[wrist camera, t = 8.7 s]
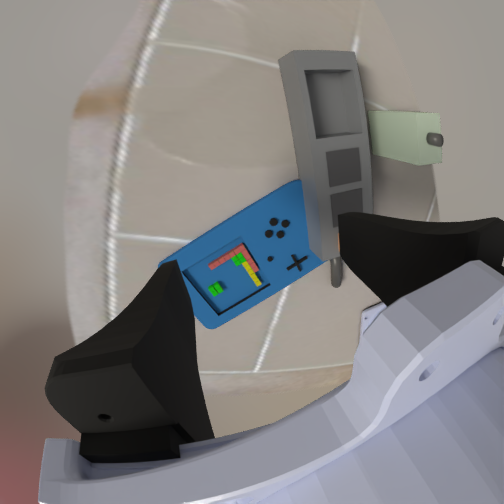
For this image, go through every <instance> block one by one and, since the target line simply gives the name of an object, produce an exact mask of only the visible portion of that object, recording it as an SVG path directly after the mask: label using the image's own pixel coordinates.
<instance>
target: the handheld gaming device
mask: <svg viewBox="0 0 504 504" xmlns="http://www.w3.org/2000/svg"><path fill="white" fill-rule="evenodd" d="M176 259H177V262H178V265H179V268H180V271H181V273H182V276H183V279H184V282H185V284H186V287H187V290H188V293H189V295H190V298H191V302H192V307H193V312H194V315H195V316H196V318H197V319H198V320H199V321H200V322H201V323H202V324H203V325H204V326H205V327H206V328H208V329H215V328H217V327H219V326H221V325H222V324H224V323H226V322H228V321H229V320H231V319H233V318H235V317H236V316H238V315H240V314H241V313H243V312H245V311H247V310H248V309H250V308H252V307H253V306H255V305H257V304H258V303H260V302H262V301H263V300H265V299H267V298H268V297H270V296H272V295H273V294H275V293H276V292H278V291H280V290H281V289H283V288H285V287H286V286H288V285H289V284H291V283H293V282H294V281H296V280H297V279H299V278H301V277H302V276H304V275H305V274H307V273H309V272H310V271H312V270H313V269H315V268H316V267H318V266H319V265H321V264H323V263H324V262H326V261H322V260H321V259H320V258H319V257H318V256H317V255H316V254H314V253H313V252H312V251H311V250H310V248H309V239H308V229H307V220H306V212H305V204H304V196H303V188H302V181H301V180H294V181H291V182H289V183H287V184H285V185H283V186H281V187H280V188H278V189H276V190H275V191H273V192H271V193H269V194H268V195H266V196H264V197H263V198H261V199H259V200H258V201H256V202H254V203H253V204H251V205H249V206H248V207H246V208H244V209H243V210H241V211H240V212H238V213H236V214H235V215H233V216H231V217H230V218H228V219H227V220H225V221H223V222H222V223H220V224H219V225H217V226H215V227H214V228H212V229H211V230H209V231H207V232H206V233H204V234H203V235H201V236H200V237H198V238H196V239H195V240H193V241H192V242H190V243H189V244H187V245H185V246H184V247H182V248H181V249H179V250H178V251H176V252H175V253H173V254H172V255H170V256H169V257H167V258H166V259H164V260H163V261H161V262H160V263H159V265H158V268H159V267H160V265H161V264H162V263H165V262H169V261H172V260H176Z"/></svg>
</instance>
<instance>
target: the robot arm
mask: <svg viewBox="0 0 504 504" xmlns="http://www.w3.org/2000/svg"><path fill="white" fill-rule="evenodd" d="M338 229H339V249H340V256H341V257H342V259H343V260H344V262H345V263H346V264H347V266H348V267H349V268H350V269H351V270H352V272H353V273H354V274H355V275H356V276H357V277H358V278H359V279H360V280H362V281H363V282H364V283H365V284H366V285H367V286H368V287H369V288H370V289H371V290H372V291H373V292H374V293H375V294H376V295H377V296H378V297H379V298H380V299H381V300H382V303H380V304H377V305H375V306H373V307H371V308H368V309H366V310H364V311H363V312H362V319H361V330H360V340H359V345H358V348H357V350H356V353H355V356H354V363H353V371H352V376H351V378H350V379H349V380H348V381H346V382H344V383H343V384H341V385H340V386H338V387H337V388H335V389H333V390H332V391H330V392H329V393H327V394H325V395H324V396H322V397H320V398H319V399H317V400H315V401H313V402H312V403H310V404H308V405H306V406H305V407H303V408H301V409H299V410H298V411H295V412H294V413H292V414H290V415H288V416H286V417H284V418H282V419H280V420H278V421H276V422H274V423H272V424H268V425H265V426H262V427H258V428H254V429H251V430H247V431H243V432H240V433H236V434H232V435H227V436H223V437H219V438H215V437H214V433H213V430H212V427H211V423H210V419H209V415H208V412H207V408H206V404H205V399H204V395H203V391H202V386H201V381H200V376H199V371H198V365H197V353H196V335H195V318H194V312H193V307H192V302H191V298H190V295H189V293H188V290H187V287H186V284H185V282H184V279H183V276H182V273H181V271H180V268H179V265H178V262H177V259H176V260H172V261H169V262H165V263H162V264H161V265H160V267H159V268H158V269H157V271H156V272H155V273H154V275H153V276H152V277H151V279H150V280H149V281H148V283H147V284H146V285H145V287H144V288H143V289H142V290H141V291H140V292H139V294H138V295H137V296H136V297H135V299H134V300H133V301H132V302H131V303H130V304H129V305H128V306H127V307H126V308H125V309H124V310H123V311H122V312H121V313H120V314H119V315H118V316H117V317H116V318H114V319H113V320H112V321H111V322H110V323H108V324H107V325H106V326H105V327H103V328H102V329H101V330H100V331H98V332H97V333H95V334H94V335H93V336H91V337H90V338H88V339H87V340H85V341H83V342H82V343H80V344H78V345H77V346H75V347H73V348H71V349H69V350H67V351H66V352H64V353H62V354H60V355H58V356H56V357H55V358H54V361H53V364H52V367H51V370H50V373H49V376H48V379H47V382H46V386H45V394H46V396H47V399H48V400H49V402H50V404H51V405H52V406H53V408H54V409H55V410H56V411H57V412H58V413H59V414H60V415H61V416H62V417H63V418H64V419H65V420H67V421H68V422H69V423H70V424H71V425H72V426H73V427H74V428H76V429H77V430H78V431H79V432H80V433H81V442H78V441H75V440H73V439H57V438H47V439H46V441H45V446H44V452H43V459H42V466H41V474H40V484H39V496H38V502H39V503H40V504H504V267H503V266H501V265H502V262H503V258H504V221H503V220H501V219H499V218H496V217H493V218H486V219H481V220H474V221H464V222H423V221H412V220H405V219H398V218H392V217H386V216H380V215H375V214H368V213H361V212H347V213H343V214H339V215H338Z"/></svg>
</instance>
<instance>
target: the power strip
mask: <svg viewBox="0 0 504 504" xmlns="http://www.w3.org/2000/svg"><path fill="white" fill-rule="evenodd" d="M278 61H279V66H280V71H281V76H282V81H283V86H284V91H285V96H286V101H287V106H288V112H289V117H290V123H291V129H292V135H293V141H294V147H295V153H296V160H297V166H298V173H299V180H301V181H302V188H303V196H304V204H305V212H306V220H307V229H308V239H309V248H310V250H311V251H312V252H313V253H314V254H316V255H317V256H318V257H319V258H320V259H321V260H322V261H327V260H330V261H331V284H332V286H333V287H335V288H338V287H340V285H341V256H340V249H339V229H338V215H339V214H343V213H347V212H361V213H368V214H373V194H372V174H371V160H370V148H369V138H368V129H367V120H366V113H365V106H364V99H363V93H362V87H361V81H360V76H359V71H358V66H357V61H356V56H355V52H349V51H328V50H296V51H291V52H290V53H288V54H287V55H285V56H284V57H282V58H280V59H279V60H278Z"/></svg>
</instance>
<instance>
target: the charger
mask: <svg viewBox="0 0 504 504" xmlns="http://www.w3.org/2000/svg"><path fill="white" fill-rule="evenodd" d="M368 118H369V126H370V135H371V146H372V154H373V155H378V156H382V157H387V158H391V159H395V160H399V161H403V162H407V163H411V164H414V165H418V166H421V165H428V164H435V163H442V145H443V136H442V135H441V127H440V114H439V113H427V112H412V111H368Z"/></svg>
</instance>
